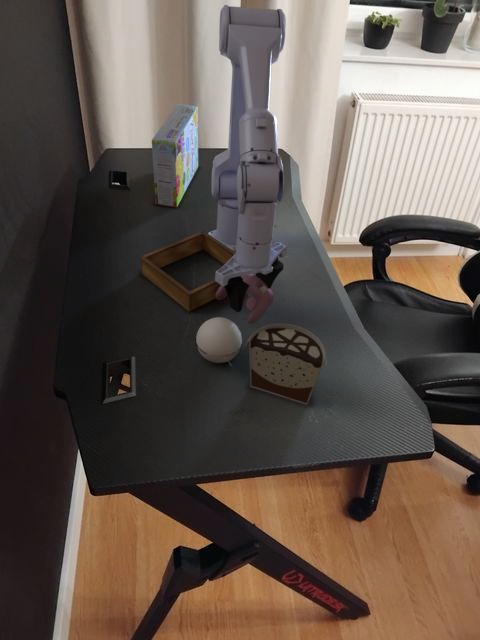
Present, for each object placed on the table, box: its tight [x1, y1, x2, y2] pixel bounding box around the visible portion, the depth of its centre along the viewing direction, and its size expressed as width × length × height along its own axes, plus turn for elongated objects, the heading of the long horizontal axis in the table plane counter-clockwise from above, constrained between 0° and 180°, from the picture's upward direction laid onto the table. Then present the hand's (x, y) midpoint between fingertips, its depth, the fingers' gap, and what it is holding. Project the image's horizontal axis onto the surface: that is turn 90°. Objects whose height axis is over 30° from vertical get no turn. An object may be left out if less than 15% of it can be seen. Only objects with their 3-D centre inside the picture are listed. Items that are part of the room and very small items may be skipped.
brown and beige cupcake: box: [244, 323, 328, 406], centre depth 86 cm, size 12×6×10 cm, turn 71°
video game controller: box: [215, 273, 274, 325], centre depth 99 cm, size 10×5×7 cm, turn 45°
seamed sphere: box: [194, 316, 243, 366], centre depth 89 cm, size 10×7×7 cm
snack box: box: [151, 103, 199, 208], centre depth 128 cm, size 21×6×15 cm, turn 172°
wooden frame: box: [139, 230, 236, 312], centre depth 107 cm, size 15×14×4 cm
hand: (248, 302), depth 99 cm, fingers closed on video game controller, 6 cm apart
